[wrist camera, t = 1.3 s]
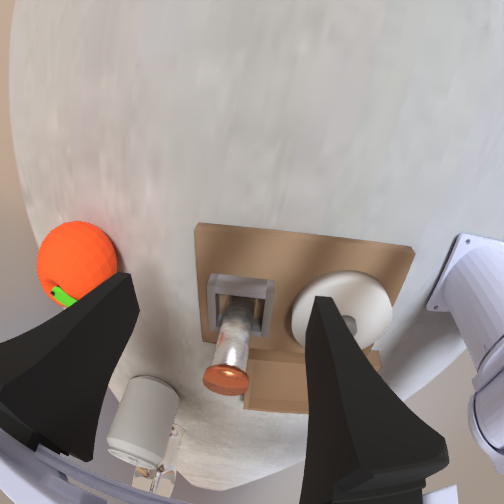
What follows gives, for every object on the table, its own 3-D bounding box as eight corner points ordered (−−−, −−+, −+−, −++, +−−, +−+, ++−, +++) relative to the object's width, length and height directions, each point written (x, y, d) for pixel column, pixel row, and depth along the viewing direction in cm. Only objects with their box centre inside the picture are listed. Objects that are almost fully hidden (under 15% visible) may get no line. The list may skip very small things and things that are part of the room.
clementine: (152, 240, 22) (111, 300, 16) (129, 292, 25) (96, 349, 19) (75, 191, 20) (18, 235, 14) (63, 249, 23) (20, 296, 17)
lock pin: (261, 289, 22) (249, 376, 15) (258, 314, 23) (247, 398, 17) (224, 285, 22) (201, 369, 15) (224, 310, 23) (204, 391, 17)
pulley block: (411, 246, 19) (427, 273, 17) (365, 348, 26) (370, 375, 23) (198, 222, 20) (184, 247, 17) (205, 333, 27) (197, 361, 24)
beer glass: (189, 427, 42) (171, 501, 30) (184, 436, 46) (168, 502, 34) (151, 414, 42) (128, 487, 29) (150, 425, 45) (130, 490, 33)
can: (178, 380, 33) (153, 464, 23) (183, 404, 37) (164, 476, 27) (125, 366, 33) (93, 442, 23) (137, 392, 37) (113, 459, 27)
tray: (378, 350, 26) (381, 366, 25) (346, 401, 32) (347, 414, 31) (250, 342, 27) (247, 358, 25) (245, 395, 33) (243, 408, 31)
